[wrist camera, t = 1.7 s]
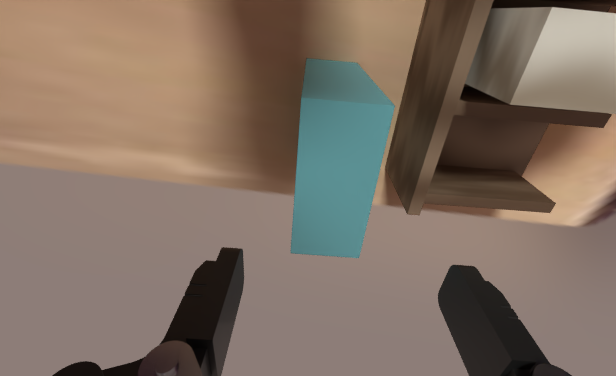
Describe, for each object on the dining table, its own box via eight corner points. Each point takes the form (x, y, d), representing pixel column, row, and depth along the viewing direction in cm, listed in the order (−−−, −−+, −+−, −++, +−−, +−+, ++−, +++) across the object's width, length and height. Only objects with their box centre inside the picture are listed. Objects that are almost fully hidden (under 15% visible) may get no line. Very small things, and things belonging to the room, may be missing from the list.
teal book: (299, 160, 31) (290, 253, 19) (306, 58, 26) (301, 97, 14) (341, 163, 31) (359, 257, 19) (357, 62, 26) (394, 105, 14)
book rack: (433, -30, 22) (535, -64, 12) (608, -12, 23) (849, -31, 13) (385, 167, 31) (420, 243, 21) (512, 177, 32) (608, 256, 21)
